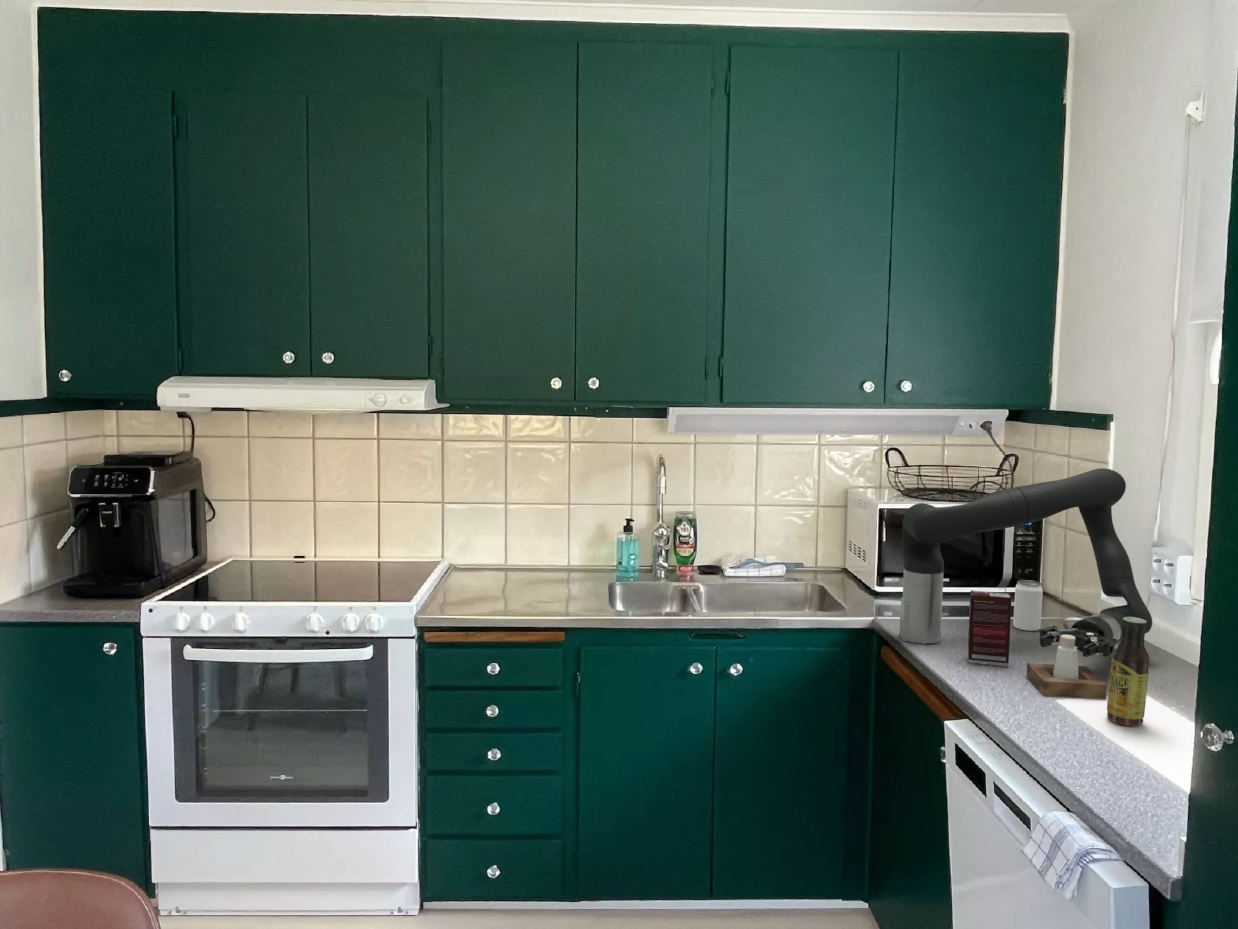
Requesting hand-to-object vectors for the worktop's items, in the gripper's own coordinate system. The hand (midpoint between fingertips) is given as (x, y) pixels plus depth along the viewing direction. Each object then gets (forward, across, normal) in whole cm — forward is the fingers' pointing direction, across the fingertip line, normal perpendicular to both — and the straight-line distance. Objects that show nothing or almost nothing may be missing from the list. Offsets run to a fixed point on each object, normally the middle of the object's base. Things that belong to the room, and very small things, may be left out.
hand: (1063, 647), depth 191 cm
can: (-41, -26, +9) cm, 50 cm away
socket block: (-2, 0, +9) cm, 9 cm away
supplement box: (-6, -19, +9) cm, 22 cm away
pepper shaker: (-2, 0, +9) cm, 9 cm away
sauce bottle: (+9, +16, +9) cm, 20 cm away
